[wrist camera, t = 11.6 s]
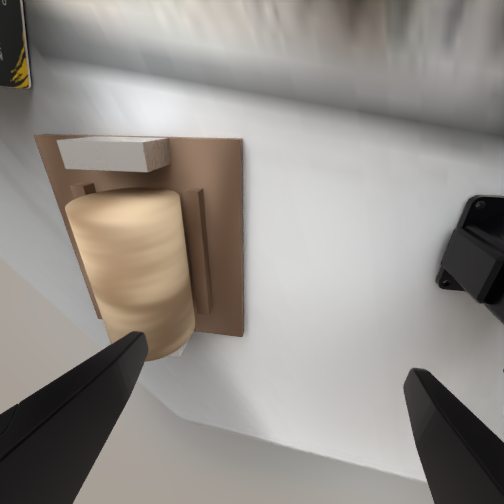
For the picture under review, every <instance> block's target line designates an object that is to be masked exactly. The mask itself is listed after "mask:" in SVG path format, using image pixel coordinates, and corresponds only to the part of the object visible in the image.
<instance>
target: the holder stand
mask: <svg viewBox="0 0 504 504" xmlns="http://www.w3.org/2000/svg"><path fill="white" fill-rule="evenodd" d="M34 138H35V141H36V143H37V146H38V149H39V152H40V155H41V158H42V160H43V163H44V166H45V169H46V172H47V175H48V177H49V180H50V183H51V186H52V189H53V192H54V194H55V197H56V200H57V203H58V206H59V209H60V212H61V214H62V217H63V220H64V223H65V226H66V229H67V231H68V234H69V237H70V240H71V243H72V246H73V248H74V251H75V254H76V257H77V260H78V263H79V266H80V268H81V271H82V274H83V277H84V280H85V283H86V285H87V288H88V291H89V294H90V297H91V300H92V302H93V305H94V308H95V311H96V314H97V317H98V319H102V316H101V313H100V310H99V307H98V304H97V301H96V298H95V296H94V293H93V290H92V287H91V284H90V281H89V278H88V275H87V272H86V269H85V266H84V263H83V260H82V258H81V255H80V252H79V249H78V246H77V243H76V240H75V237H74V234H73V231H72V228H71V225H70V222H69V220H68V217H67V214H66V211H65V206H66V205H67V204H68V203H69V202H71V201H72V200H74V199H77V198H79V197H82V196H85V195H88V194H92V193H96V192H101V191H106V190H113V189H121V188H134V187H152V188H163V189H168V190H172V191H175V192H176V193H178V194H179V196H180V204H181V212H182V220H183V228H184V236H185V244H186V252H187V260H188V268H189V276H190V284H191V292H192V300H193V308H194V316H195V329H194V331H199V332H207V333H215V334H222V335H230V336H238V337H242V336H243V332H244V282H243V164H242V139H236V138H189V137H142V136H95V135H49V134H43V135H34ZM188 341H189V340H188ZM188 341H187V342H186V343H185V344H184V345H183V346H182V347H181V348H179V349H178V350H177V351H175V352H173V353H172V354H170V355H167V356H170V357H177V358H180V357H181V355H182V353H183V351H184V349H185V347H186V345H187V343H188Z"/></svg>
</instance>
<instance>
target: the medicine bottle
mask: <svg viewBox="0 0 504 504" xmlns="http://www.w3.org/2000/svg"><path fill="white" fill-rule="evenodd" d="M0 86H1V87H11V88H21V89H28V88H30V87H31V79H30V69H29V60H28V50H27V40H26V31H25V21H24V12H23V2H22V0H0Z"/></svg>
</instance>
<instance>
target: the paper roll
mask: <svg viewBox="0 0 504 504" xmlns="http://www.w3.org/2000/svg"><path fill="white" fill-rule="evenodd" d="M65 211H66V214H67V217H68V220H69V222H70V225H71V228H72V231H73V234H74V237H75V240H76V243H77V246H78V249H79V252H80V255H81V258H82V260H83V263H84V266H85V269H86V272H87V275H88V278H89V281H90V284H91V287H92V290H93V293H94V296H95V298H96V301H97V304H98V307H99V310H100V313H101V316H102V319H103V322H104V325H105V328H106V331H107V334H108V336H109V339H110V342H111V344H113V343H114V342H116V341H117V340H119V339H120V338H122V337H124V336H125V335H127V334H128V333H130V332H132V331H139V332H144V333H145V335H146V339H147V343H148V347H149V351H148V355H147V358H146V360H145V361H152V360H156V359H160V358H163V357H165V356H167V355H170V354H172V353H173V352H175V351H177V350H178V349H179V348H181V347H182V346H183V345H184V344H185V343H186V342H187V341H188V340H189V339H190V337H191V336H192V334H193V332H194V329H195V316H194V308H193V300H192V292H191V284H190V276H189V268H188V260H187V252H186V244H185V236H184V228H183V220H182V212H181V204H180V196H179V194H178V193H176V192H175V191H172V190H168V189H163V188H152V187H134V188H121V189H113V190H106V191H101V192H96V193H92V194H88V195H85V196H82V197H79V198H77V199H74V200H72V201H71V202H69V203H68V204H67V205H66V206H65Z"/></svg>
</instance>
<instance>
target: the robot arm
mask: <svg viewBox="0 0 504 504" xmlns="http://www.w3.org/2000/svg"><path fill="white" fill-rule="evenodd" d="M479 201H482V202H481V204H480V206H478V207H476V204H477V203H478V202H479ZM441 265H442V266H441V269H440V271H439V273H438V276H437V278H436V283H437V285H438V286H439V287H440V288H441V289H447V290H458V291H467V292H468V293H469V294H470V295H471V297H472V298H473V299H474V300H475V301H476V302H477V303H479V304H484V305H485V306H486V307H487V308H488V309H489V310H490V311H491V312H492V313H493V314H494V315H495V316H496V317H497V318H498V319H499V320H500V321H501V323H502V324H503V325H504V196H493V195H476V196H474V197H472V198H471V199H469V201H468V202H467V205H466V207H465V210H464V212H463V214H462V217H461V219H460V222H459V224H458V227H457V229H456V230H454V232H453V234H452V237H451V239H450V242H449V244H448V247H447V249H446V252H445V254H444V257H443V259H442V262H441ZM445 280H448V281H447V282H445V283H443V282H444V281H445ZM148 351H149V347H148V343H147V339H146V335H145V333H144V332H139V331H132V332H130V333H128V334H127V335H125V336H124V337H122V338H120V339H119V340H117V341H116V342H114V343H113V344H111V345H109V346H108V347H106V348H105V349H103V350H101V351H100V352H98V353H97V354H95V355H94V356H92V357H90V358H89V359H87V360H86V361H84V362H83V363H81V364H79V365H78V366H76V367H75V368H73V369H71V370H70V371H68V372H67V373H65V374H64V375H62V376H60V377H59V378H57V379H56V380H54V381H53V382H51V383H50V384H48V385H46V386H45V387H43V388H41V389H40V390H39V391H37V392H35V393H33V394H32V395H30V396H29V397H27V398H26V399H24V400H22V401H21V402H20V403H19V404H16V405H14V406H13V407H11V408H10V409H8V410H6V411H5V412H3V413H2V414H0V504H73V502H74V500H75V498H76V496H77V494H78V493H79V491H80V489H81V487H82V485H83V483H84V481H85V479H86V478H87V476H88V474H89V472H90V470H91V468H92V466H93V465H94V463H95V461H96V459H97V457H98V455H99V453H100V451H101V450H102V448H103V446H104V444H105V442H106V440H107V439H108V437H109V435H110V433H111V431H112V429H113V427H114V426H115V424H116V422H117V420H118V418H119V416H120V414H121V412H122V411H123V409H124V407H125V405H126V403H127V401H128V399H129V397H130V395H131V393H132V391H133V389H134V386H135V384H136V381H137V379H138V377H139V374H140V372H141V369H142V367H143V365H144V362H145V360H146V358H147V355H148ZM503 372H504V369H503ZM403 389H404V395H405V400H406V404H407V409H408V413H409V418H410V422H411V427H412V431H413V436H414V440H415V444H416V448H417V451H418V454H419V457H420V460H421V463H422V467H423V470H424V473H425V476H426V479H427V482H428V485H429V488H430V491H431V494H432V497H433V500H434V503H435V504H504V442H503V441H502V440H500V439H499V438H498V437H497V436H496V435H495V434H494V433H493V432H492V431H491V430H490V429H489V428H488V427H487V426H486V425H485V424H484V423H483V422H482V421H480V420H479V419H478V418H477V417H476V416H475V415H474V414H473V413H472V412H471V411H470V410H469V409H468V408H467V407H466V406H465V405H464V404H463V403H462V402H460V401H459V400H458V399H457V398H456V397H455V396H454V395H453V394H452V393H451V392H450V391H449V390H448V389H447V388H446V387H445V386H444V385H443V384H442V383H440V382H439V381H438V380H437V379H436V378H435V377H434V376H433V375H432V374H431V373H430V372H429V371H427V370H426V369H420V368H411V369H410V371H409V373H408V376H407V378H406V380H405V382H404V387H403Z"/></svg>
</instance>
